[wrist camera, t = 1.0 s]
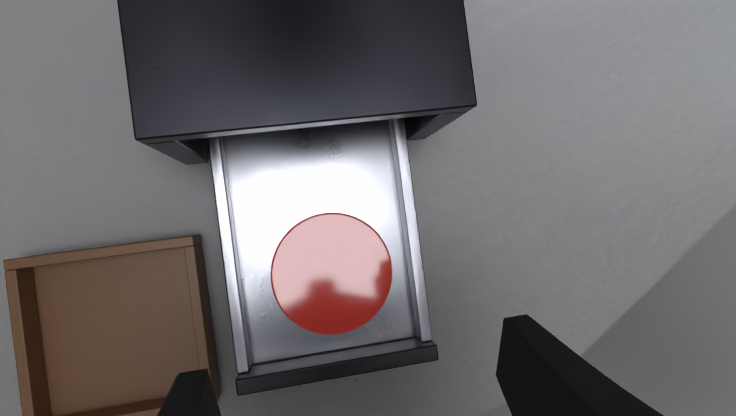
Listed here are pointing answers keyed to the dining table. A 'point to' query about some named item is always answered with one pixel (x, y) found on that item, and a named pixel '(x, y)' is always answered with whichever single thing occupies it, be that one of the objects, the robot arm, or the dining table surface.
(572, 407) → the robot arm
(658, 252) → the dining table surface
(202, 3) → the oven
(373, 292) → the glossy red cylinder
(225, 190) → the tray
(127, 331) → the tray
